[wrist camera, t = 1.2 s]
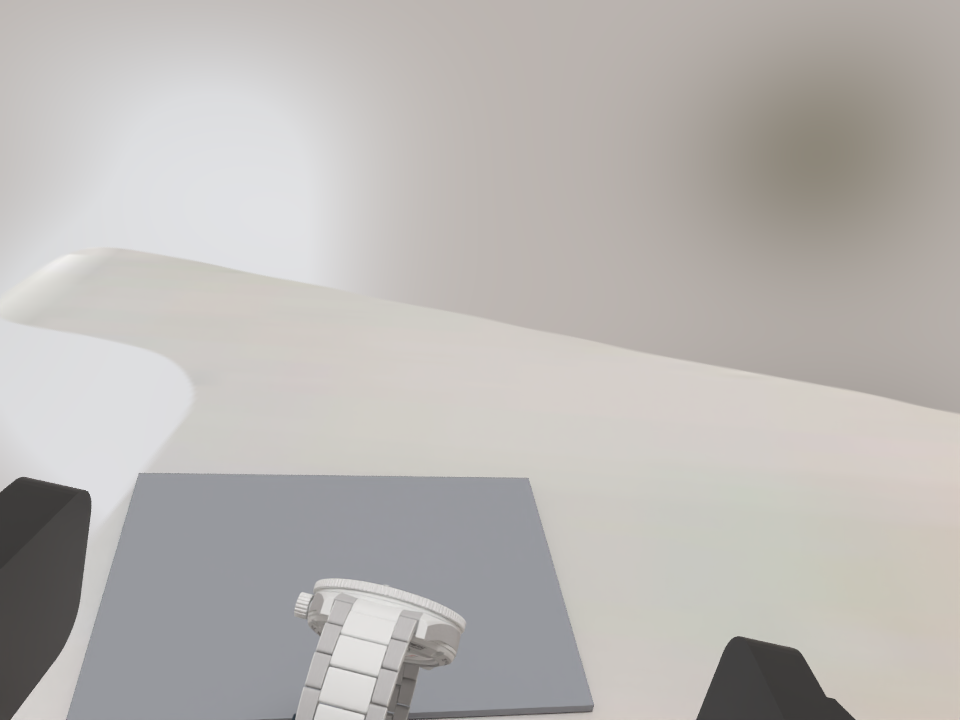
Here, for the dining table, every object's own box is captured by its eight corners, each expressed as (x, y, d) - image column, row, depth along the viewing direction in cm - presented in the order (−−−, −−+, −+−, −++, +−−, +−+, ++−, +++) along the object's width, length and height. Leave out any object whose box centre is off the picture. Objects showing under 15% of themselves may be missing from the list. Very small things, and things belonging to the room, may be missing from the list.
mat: (527, 483, 46) (528, 477, 46) (592, 711, 34) (593, 705, 34) (139, 479, 42) (138, 472, 42) (65, 734, 30) (63, 728, 30)
